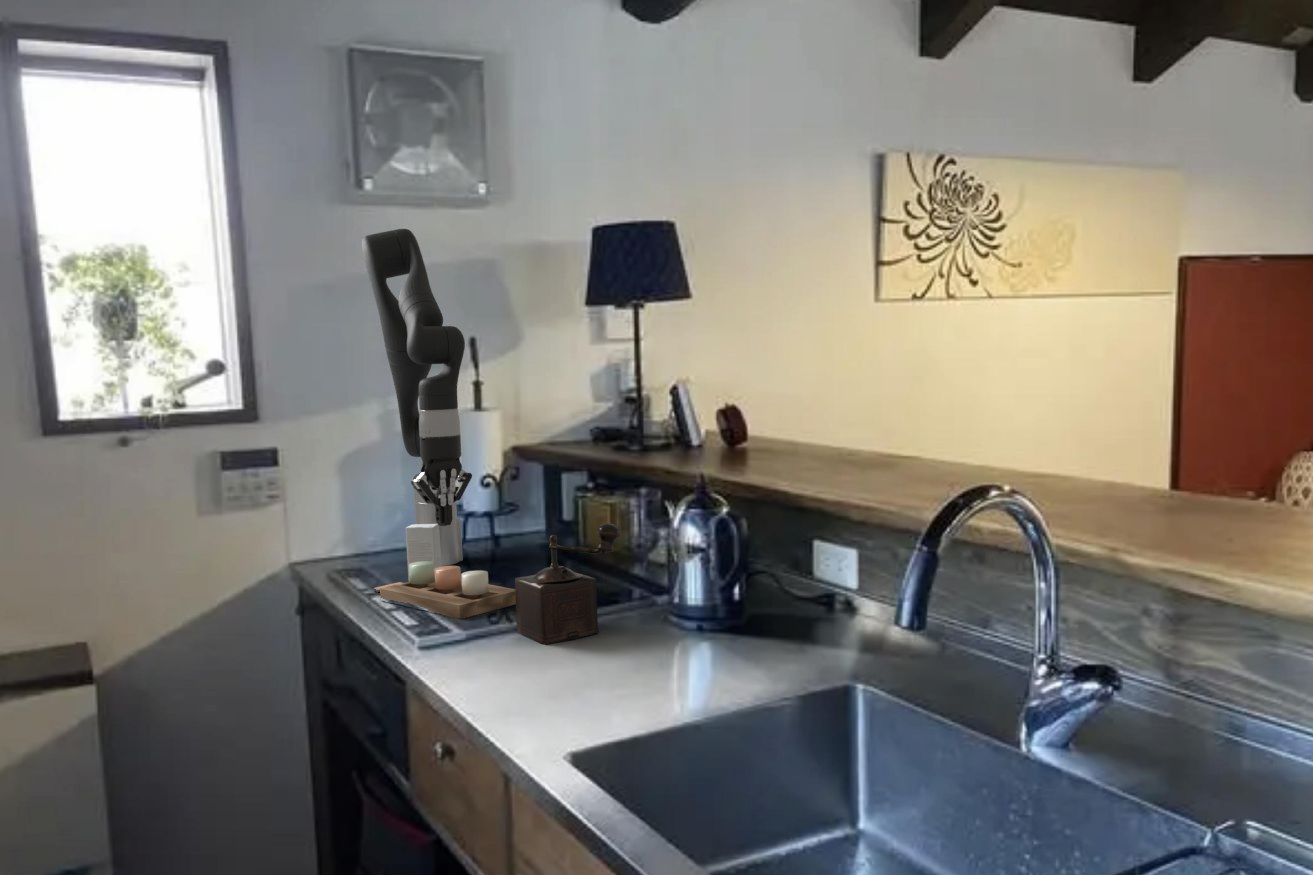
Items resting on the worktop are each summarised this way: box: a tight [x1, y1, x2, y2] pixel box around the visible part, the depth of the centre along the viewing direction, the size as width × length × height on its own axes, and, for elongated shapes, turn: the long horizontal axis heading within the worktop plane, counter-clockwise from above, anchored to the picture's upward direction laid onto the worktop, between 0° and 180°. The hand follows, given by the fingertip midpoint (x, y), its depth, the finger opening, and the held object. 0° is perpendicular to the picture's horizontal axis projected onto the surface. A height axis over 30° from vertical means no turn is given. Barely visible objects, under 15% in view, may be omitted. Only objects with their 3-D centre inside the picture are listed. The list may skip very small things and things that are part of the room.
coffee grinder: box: [514, 522, 621, 646], centre depth 176 cm, size 16×11×18 cm
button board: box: [379, 578, 516, 619], centre depth 200 cm, size 14×24×2 cm, turn 49°
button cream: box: [461, 570, 489, 595], centre depth 194 cm, size 5×5×4 cm
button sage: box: [409, 561, 435, 584], centre depth 205 cm, size 5×5×4 cm
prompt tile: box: [373, 581, 403, 590], centre depth 211 cm, size 6×6×1 cm
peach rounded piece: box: [435, 565, 462, 590], centre depth 199 cm, size 5×5×4 cm
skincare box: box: [404, 523, 442, 582], centre depth 217 cm, size 6×4×12 cm
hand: (444, 525), depth 199 cm, fingers closed
